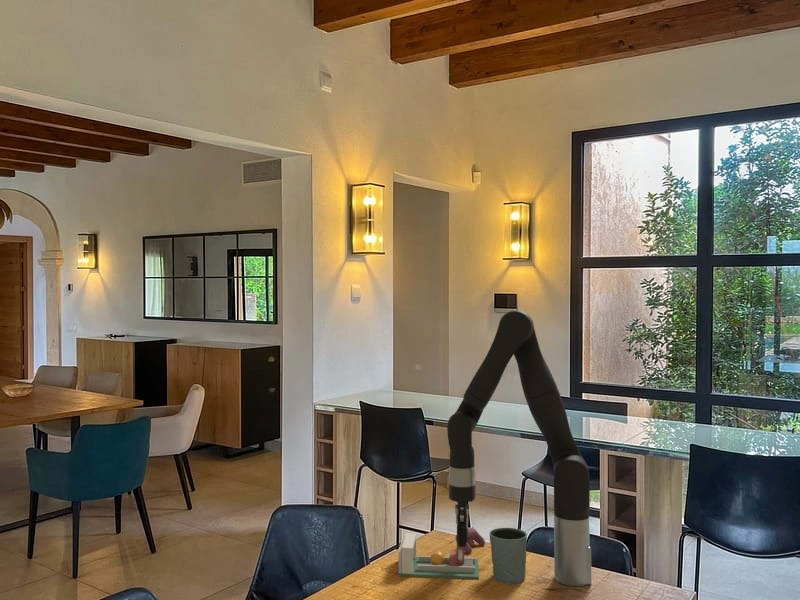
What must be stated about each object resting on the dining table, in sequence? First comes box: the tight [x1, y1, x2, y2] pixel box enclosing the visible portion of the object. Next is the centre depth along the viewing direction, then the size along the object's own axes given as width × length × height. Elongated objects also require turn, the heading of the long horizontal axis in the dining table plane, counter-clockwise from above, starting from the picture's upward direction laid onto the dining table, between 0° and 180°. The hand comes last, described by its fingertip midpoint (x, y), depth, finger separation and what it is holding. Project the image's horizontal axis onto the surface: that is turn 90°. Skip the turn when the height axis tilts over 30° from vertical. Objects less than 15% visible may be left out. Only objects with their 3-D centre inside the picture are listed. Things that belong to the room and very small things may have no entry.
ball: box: [430, 550, 445, 565], centre depth 185 cm, size 4×4×4 cm
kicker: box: [449, 524, 473, 566], centre depth 185 cm, size 6×14×11 cm, turn 174°
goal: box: [398, 532, 417, 574], centre depth 186 cm, size 4×12×7 cm, turn 174°
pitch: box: [397, 555, 480, 580], centre depth 185 cm, size 22×13×2 cm, turn 84°
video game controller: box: [455, 527, 486, 555], centre depth 202 cm, size 10×5×7 cm, turn 144°
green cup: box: [489, 527, 528, 585], centre depth 179 cm, size 10×10×12 cm
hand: (462, 543), depth 185 cm, fingers closed on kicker, 3 cm apart
